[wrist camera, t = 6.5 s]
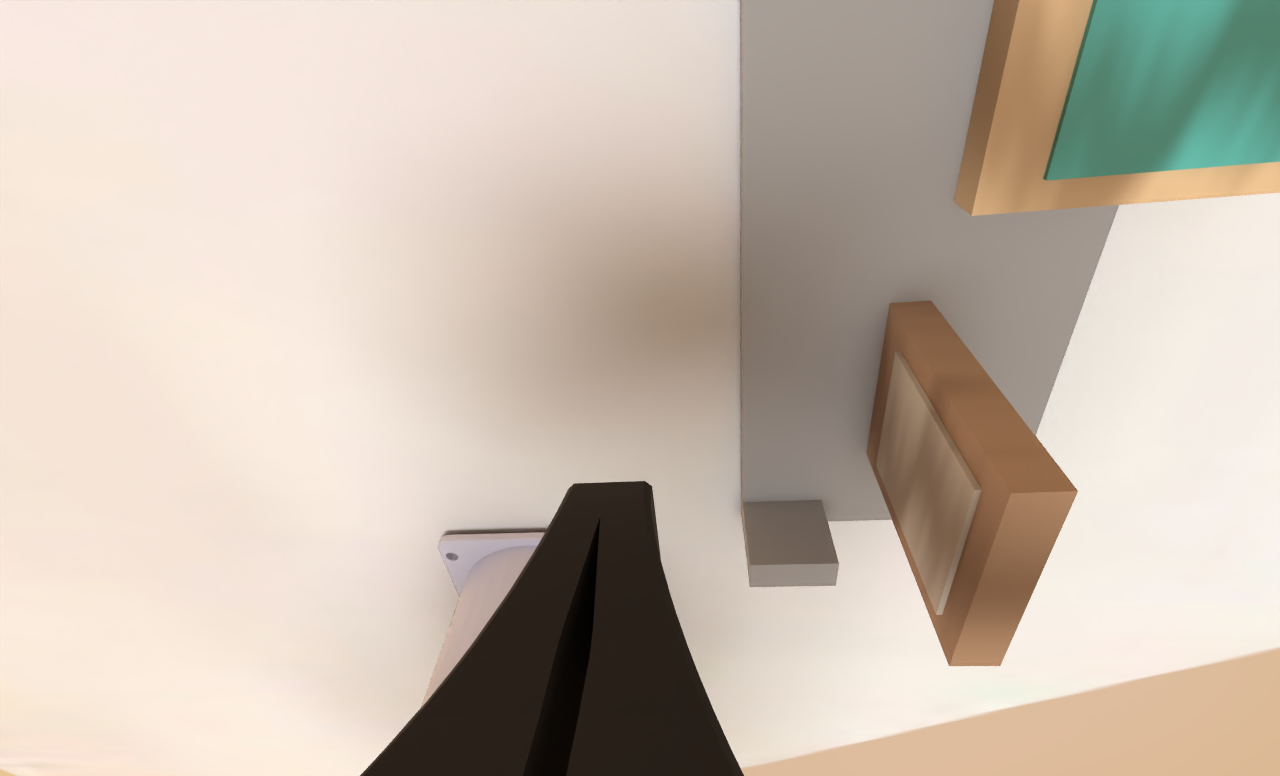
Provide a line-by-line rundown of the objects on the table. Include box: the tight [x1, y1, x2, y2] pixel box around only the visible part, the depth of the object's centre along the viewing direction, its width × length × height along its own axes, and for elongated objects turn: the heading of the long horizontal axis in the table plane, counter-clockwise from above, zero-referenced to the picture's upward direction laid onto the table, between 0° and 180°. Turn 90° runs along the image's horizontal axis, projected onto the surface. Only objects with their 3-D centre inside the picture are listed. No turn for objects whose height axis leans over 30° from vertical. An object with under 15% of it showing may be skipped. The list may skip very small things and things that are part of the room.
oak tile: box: [954, 0, 1280, 216], centre depth 13 cm, size 6×1×8 cm
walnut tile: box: [866, 301, 1078, 666], centre depth 16 cm, size 6×1×8 cm, turn 6°
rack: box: [741, 0, 1119, 587], centre depth 16 cm, size 22×10×4 cm, turn 6°
